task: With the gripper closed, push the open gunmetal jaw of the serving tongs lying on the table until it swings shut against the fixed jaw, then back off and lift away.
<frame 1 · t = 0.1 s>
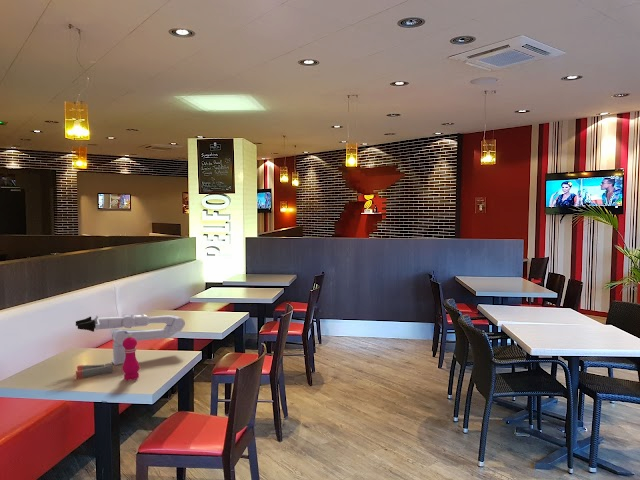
hand: (76, 325, 234), 22 cm above the table, tool horizontal, fingers open, 7 cm apart
pepper mill: (131, 378, 221), on the table
tongs body: (108, 371, 231), on the table
tongs jaw: (90, 368, 231), point 2 cm above the table, hinge at 30.0°
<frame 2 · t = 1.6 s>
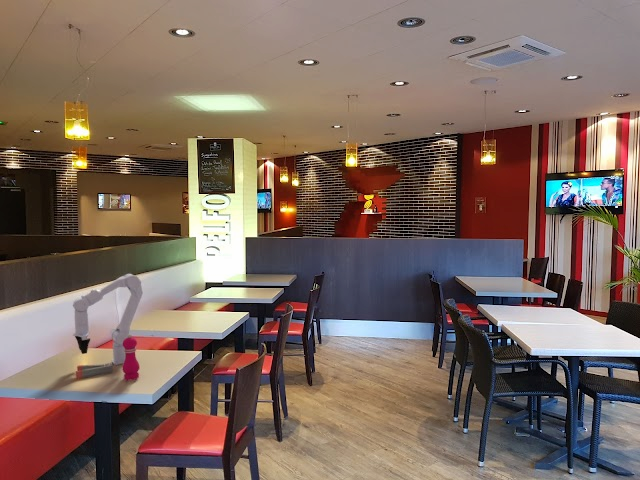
hand: (83, 351, 235), 8 cm above the table, tool pointing down, fingers open, 7 cm apart
nothing on the table moved.
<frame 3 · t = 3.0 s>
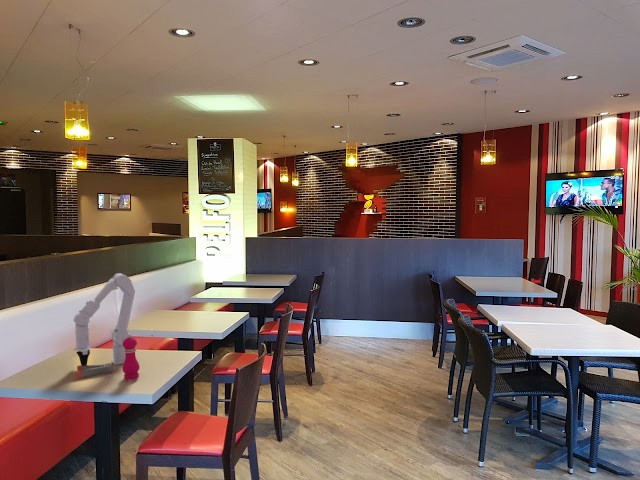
hand: (84, 365, 236), 1 cm above the table, tool pointing down, fingers closed
nothing on the table moved.
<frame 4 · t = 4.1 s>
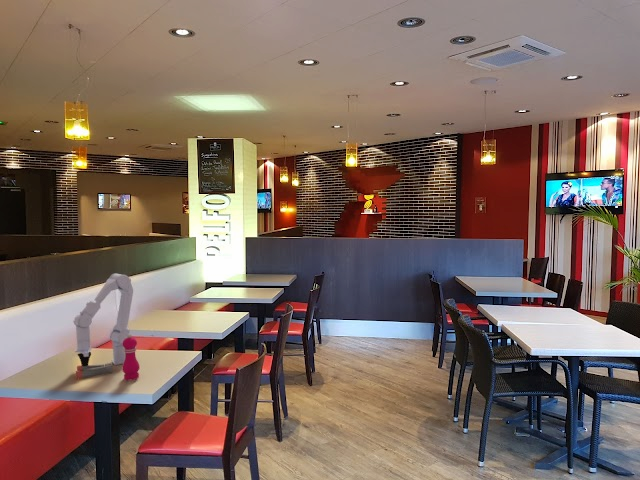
hand: (85, 368, 232), 1 cm above the table, tool pointing down, fingers closed
tongs jaw: (90, 368, 231), point 2 cm above the table, hinge at 28.9°, touching gripper
everything else where it was.
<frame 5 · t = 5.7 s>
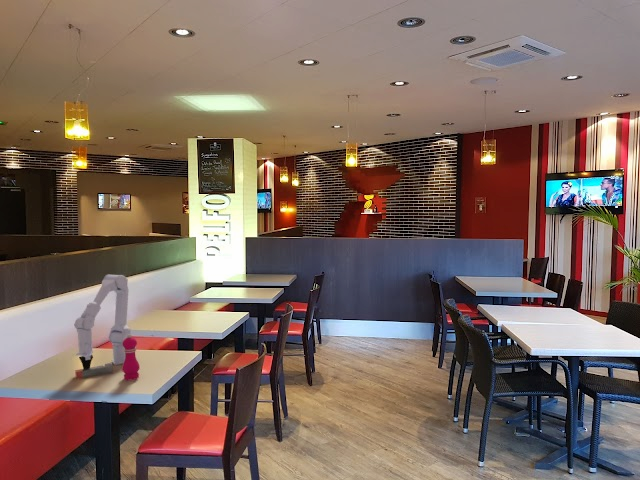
hand: (86, 371, 227), 1 cm above the table, tool pointing down, fingers closed
tongs jaw: (89, 371, 227), point 2 cm above the table, hinge at -0.4°, touching gripper
everything else where it was.
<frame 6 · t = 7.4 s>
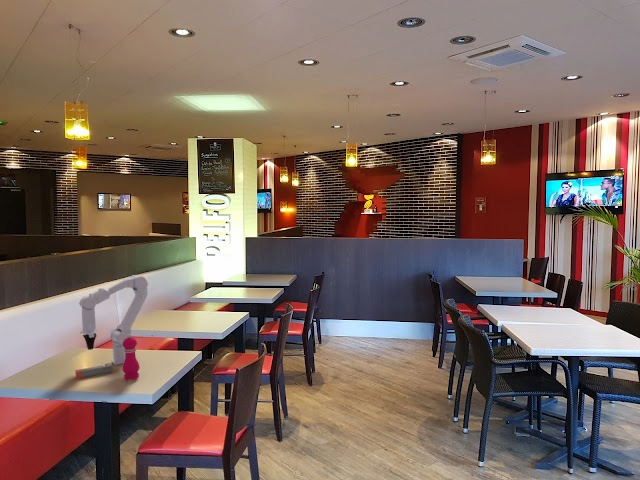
hand: (90, 349, 236), 9 cm above the table, tool pointing down, fingers closed
tongs jaw: (89, 371, 227), point 2 cm above the table, hinge at -0.4°
everything else where it was.
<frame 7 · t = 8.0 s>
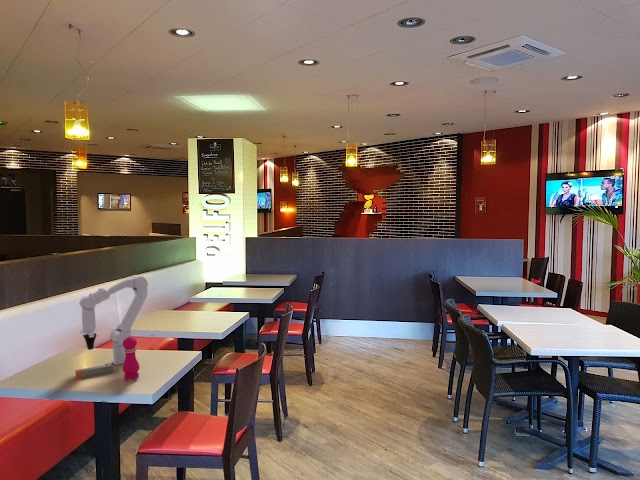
hand: (90, 349, 236), 9 cm above the table, tool pointing down, fingers closed
nothing on the table moved.
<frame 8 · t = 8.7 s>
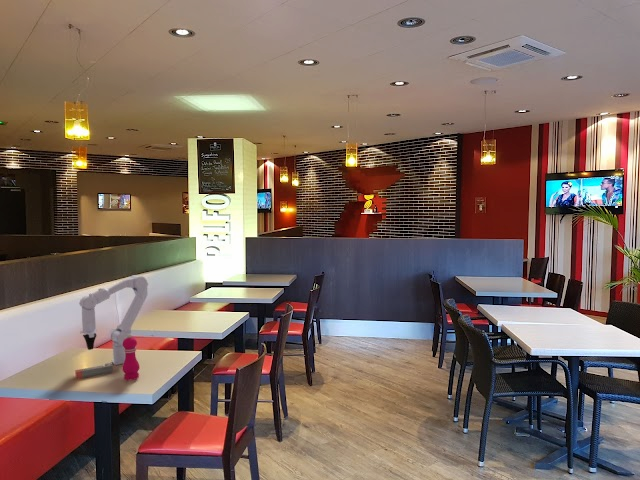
hand: (90, 349, 236), 9 cm above the table, tool pointing down, fingers closed
nothing on the table moved.
at the end: tongs jaw at +0° (first picture: +30°); pepper mill moved 0.2 cm from its start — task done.
